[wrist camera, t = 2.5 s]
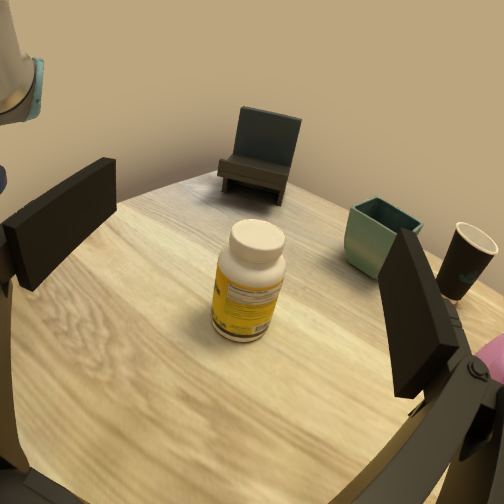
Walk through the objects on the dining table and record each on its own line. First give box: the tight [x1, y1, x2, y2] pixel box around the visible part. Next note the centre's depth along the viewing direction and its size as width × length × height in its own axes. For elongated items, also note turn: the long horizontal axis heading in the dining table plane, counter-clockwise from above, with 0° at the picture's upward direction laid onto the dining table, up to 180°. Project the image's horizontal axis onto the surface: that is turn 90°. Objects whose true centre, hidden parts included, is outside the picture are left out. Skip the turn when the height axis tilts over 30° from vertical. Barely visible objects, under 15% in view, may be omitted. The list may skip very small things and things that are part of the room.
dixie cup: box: [436, 222, 499, 304], centre depth 41 cm, size 8×8×11 cm
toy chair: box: [217, 106, 302, 206], centre depth 54 cm, size 11×12×15 cm
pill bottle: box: [211, 219, 286, 342], centre depth 31 cm, size 6×6×11 cm
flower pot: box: [344, 196, 424, 279], centre depth 44 cm, size 9×9×9 cm
